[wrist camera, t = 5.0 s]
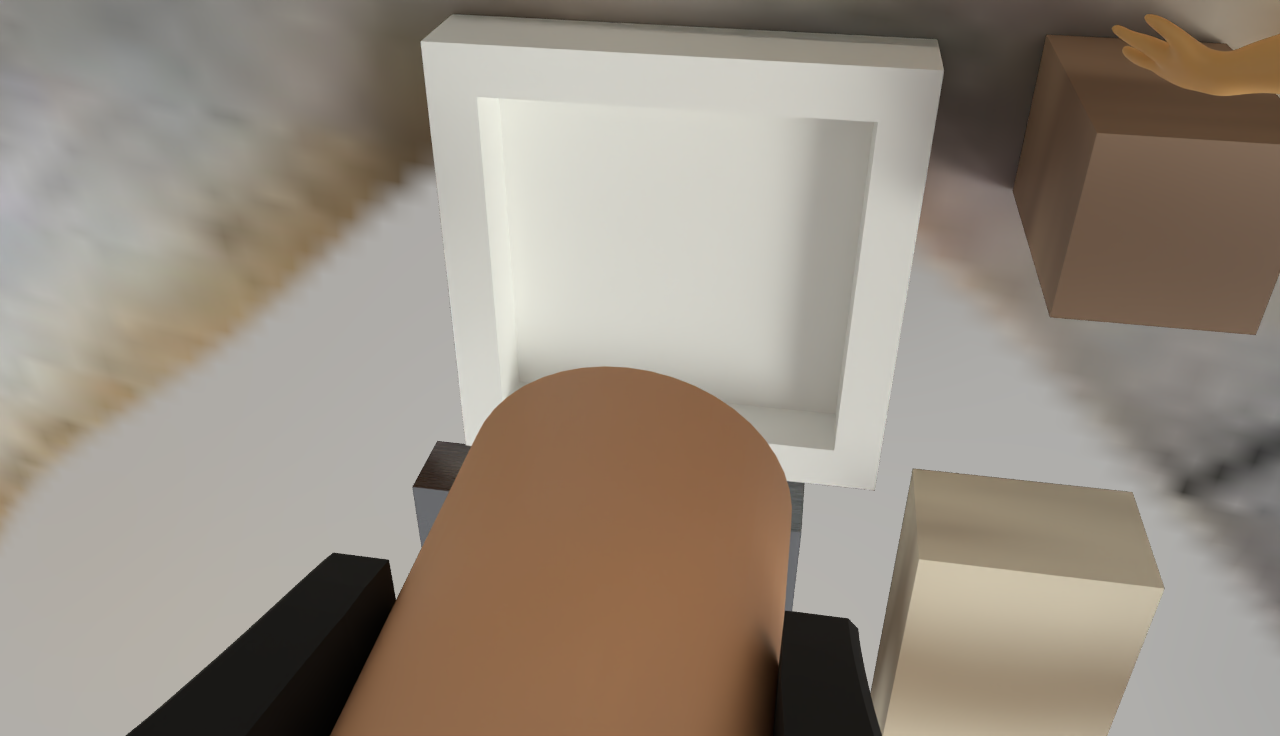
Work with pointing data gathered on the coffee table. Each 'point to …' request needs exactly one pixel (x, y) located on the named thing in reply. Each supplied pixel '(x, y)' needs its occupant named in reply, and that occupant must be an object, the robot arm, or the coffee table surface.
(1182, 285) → the brown rectangular block
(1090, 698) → the cream rectangular block
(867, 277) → the tray
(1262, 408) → the coffee table surface
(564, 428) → the dowel
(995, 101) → the coffee table surface
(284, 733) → the robot arm
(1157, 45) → the figurine
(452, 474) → the socket
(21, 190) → the coffee table surface
